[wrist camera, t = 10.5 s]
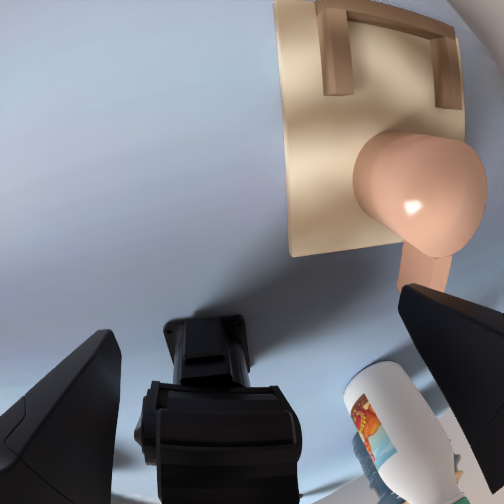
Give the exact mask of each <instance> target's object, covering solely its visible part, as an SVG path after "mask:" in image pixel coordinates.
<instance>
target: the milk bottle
mask: <svg viewBox="0 0 504 504" xmlns="http://www.w3.org/2000/svg"><path fill="white" fill-rule="evenodd" d="M344 402H345V405H346V407H347V409H348V411H349V413H350V415H351V418H352V420H353V422H354V424H355V426H356V428H357V430H358V432H359V434H360V436H361V438H362V441H363V443H364V445H365V447H366V449H367V451H368V453H369V455H370V457H371V459H372V461H373V463H374V465H375V467H376V469H377V471H378V473H379V475H380V476H381V478H382V480H383V481H384V482H385V484H386V485H387V486H388V487H389V488H390V489H391V490H392V491H393V492H395V493H396V494H397V495H399V496H400V497H402V498H403V499H405V500H406V501H407V502H409V503H410V504H470V503H469V501H468V499H467V498H466V497H464V492H460V490H459V489H458V486H457V483H456V478H455V471H454V454H453V449H452V445H451V442H450V440H449V438H448V435H447V434H446V432H445V430H444V428H443V427H442V425H441V423H440V422H439V420H438V419H437V417H436V416H435V414H434V413H433V411H432V410H431V408H430V407H429V405H428V404H427V402H426V401H425V399H424V398H423V396H422V395H421V393H420V392H419V391H418V389H417V388H416V386H415V385H414V383H413V382H412V381H411V379H410V378H409V376H408V375H407V374H406V372H405V371H404V370H403V368H402V367H401V366H400V365H399V364H397V363H395V362H392V361H382V362H379V363H376V364H373V365H371V366H369V367H367V368H365V369H364V370H362V371H361V372H359V373H358V374H357V375H356V376H355V377H354V378H353V379H352V380H351V381H350V382H349V384H348V385H347V387H346V389H345V391H344Z"/></svg>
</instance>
